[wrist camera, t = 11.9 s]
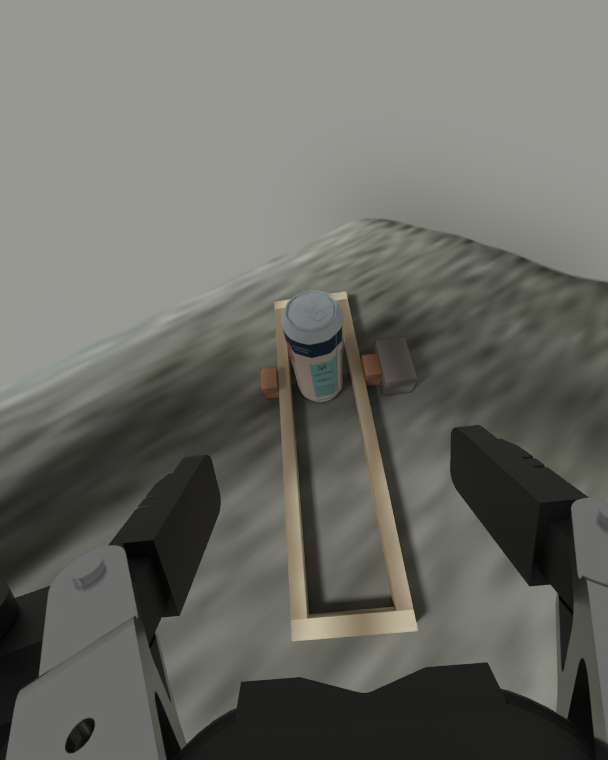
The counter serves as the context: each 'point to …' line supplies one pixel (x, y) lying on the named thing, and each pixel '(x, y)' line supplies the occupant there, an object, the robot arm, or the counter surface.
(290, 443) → the beam track
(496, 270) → the counter surface
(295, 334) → the beer can
